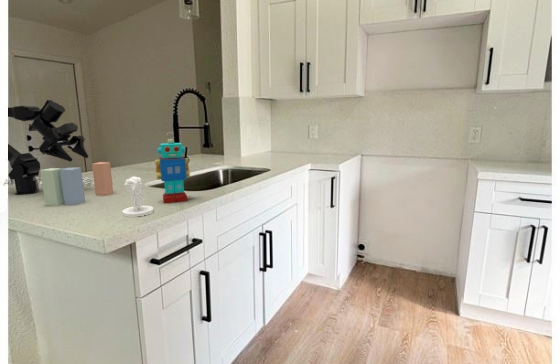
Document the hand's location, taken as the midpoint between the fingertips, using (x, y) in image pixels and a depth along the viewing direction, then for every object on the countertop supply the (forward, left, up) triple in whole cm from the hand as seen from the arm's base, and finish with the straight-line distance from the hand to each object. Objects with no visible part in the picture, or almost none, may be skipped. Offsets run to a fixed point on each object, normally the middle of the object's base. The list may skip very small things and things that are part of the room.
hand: (80, 159), depth 127 cm
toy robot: (+34, -24, -14) cm, 44 cm away
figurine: (+22, -36, -14) cm, 44 cm away
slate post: (0, -15, -14) cm, 20 cm away
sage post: (-6, -14, -14) cm, 21 cm away
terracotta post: (+8, -4, -14) cm, 16 cm away
